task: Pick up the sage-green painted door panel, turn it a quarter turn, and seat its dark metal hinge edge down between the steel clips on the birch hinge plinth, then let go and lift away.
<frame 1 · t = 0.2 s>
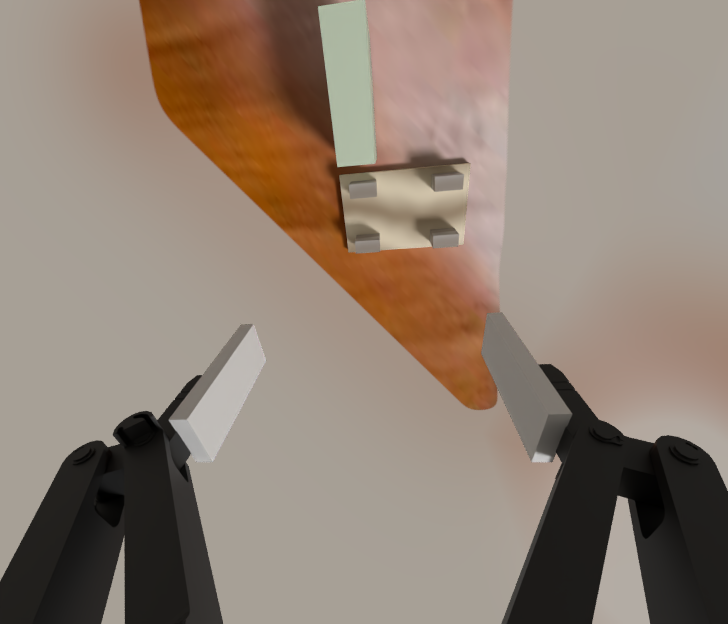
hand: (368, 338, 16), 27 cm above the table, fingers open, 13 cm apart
door panel: (358, 105, 33), on the table
hinge bracket: (403, 210, 39), on the table
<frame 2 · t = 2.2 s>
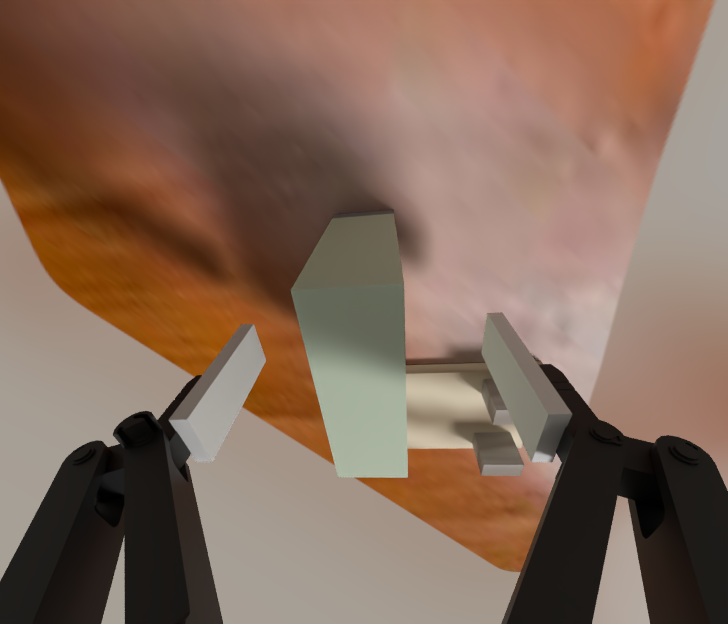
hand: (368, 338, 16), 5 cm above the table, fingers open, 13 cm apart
door panel: (370, 291, 20), on the table
hinge bracket: (435, 405, 26), on the table
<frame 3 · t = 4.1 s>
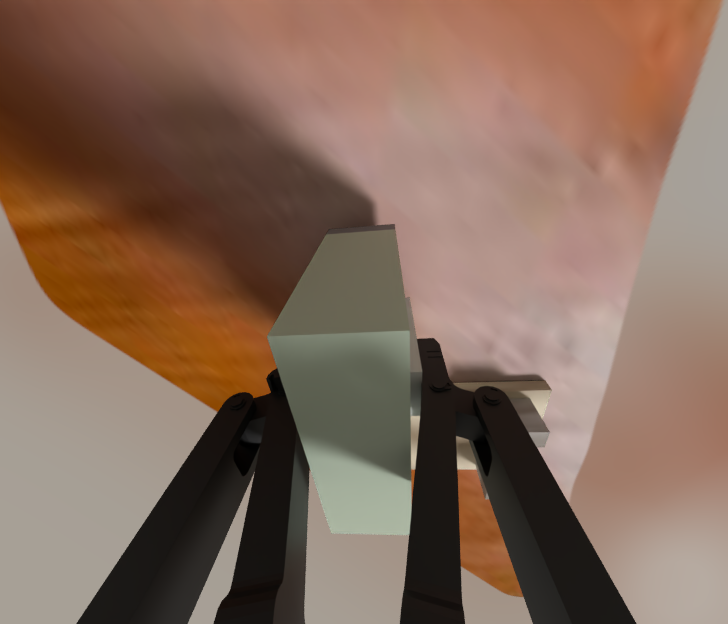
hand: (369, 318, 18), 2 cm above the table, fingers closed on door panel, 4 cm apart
door panel: (369, 312, 18), point 1 cm above the table, touching gripper
hinge bracket: (437, 424, 25), on the table
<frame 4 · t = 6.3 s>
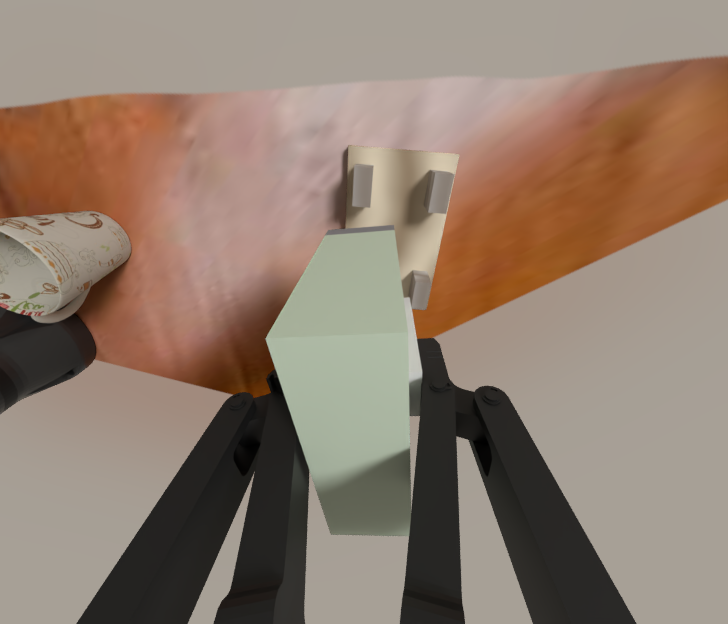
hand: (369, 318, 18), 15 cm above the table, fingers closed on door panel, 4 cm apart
door panel: (369, 313, 18), point 15 cm above the table, touching gripper
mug: (105, 254, 33), on the table
hinge bracket: (392, 235, 31), on the table
when the fingers open (2 cm above the table, at t = 8.5 s): door panel stays where it is, resting on hinge bracket.
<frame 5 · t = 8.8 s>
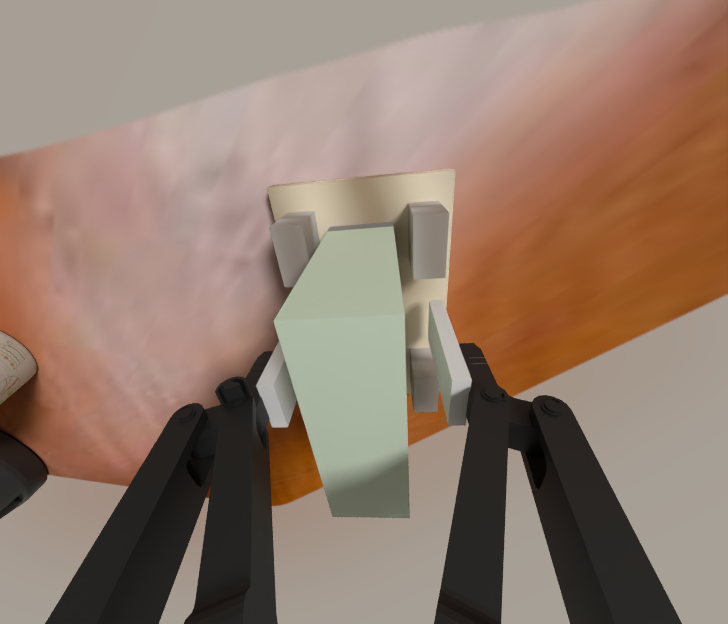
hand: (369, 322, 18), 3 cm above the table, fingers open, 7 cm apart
door panel: (369, 307, 19), point 1 cm above the table, touching hinge bracket
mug: (10, 368, 26), on the table
hinge bracket: (370, 302, 20), on the table
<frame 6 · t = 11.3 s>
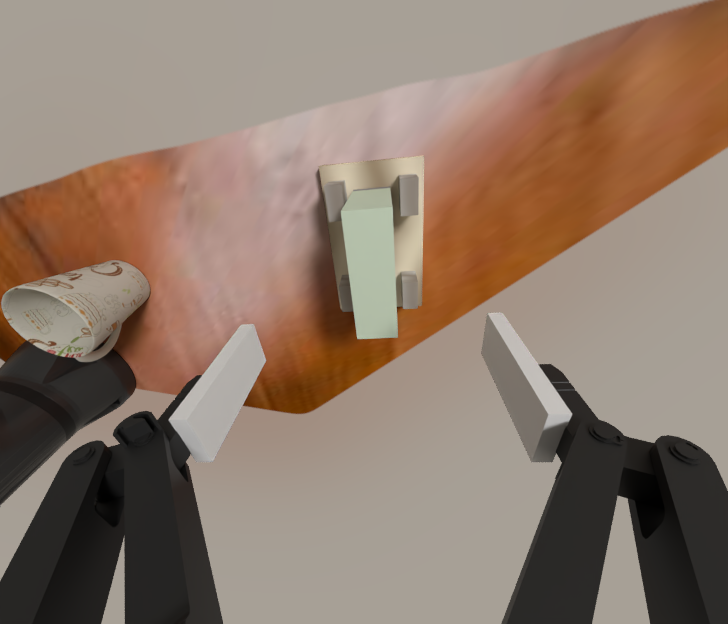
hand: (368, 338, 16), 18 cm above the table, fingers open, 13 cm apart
door panel: (375, 242, 31), point 1 cm above the table, touching hinge bracket
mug: (130, 295, 38), on the table
hinge bracket: (376, 241, 32), on the table
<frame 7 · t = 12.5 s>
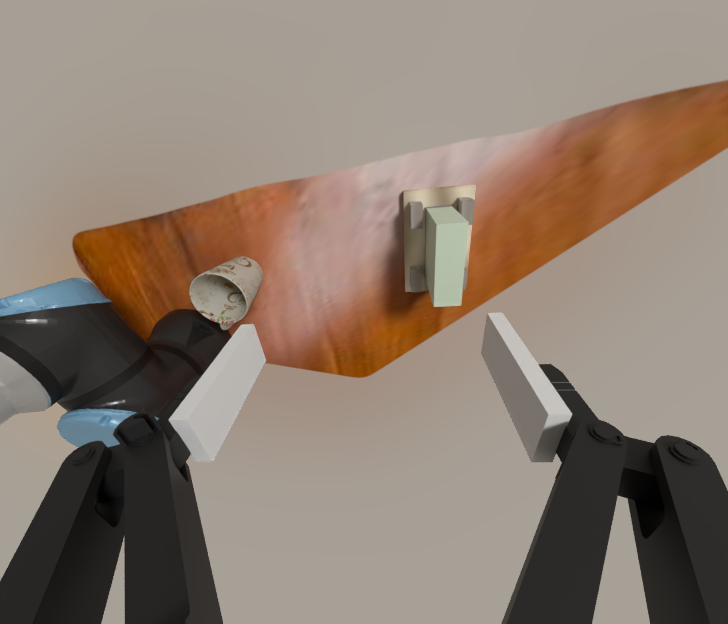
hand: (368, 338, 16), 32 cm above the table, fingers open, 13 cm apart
door panel: (436, 243, 44), point 1 cm above the table, touching hinge bracket
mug: (246, 282, 51), on the table
hinge bracket: (436, 242, 45), on the table
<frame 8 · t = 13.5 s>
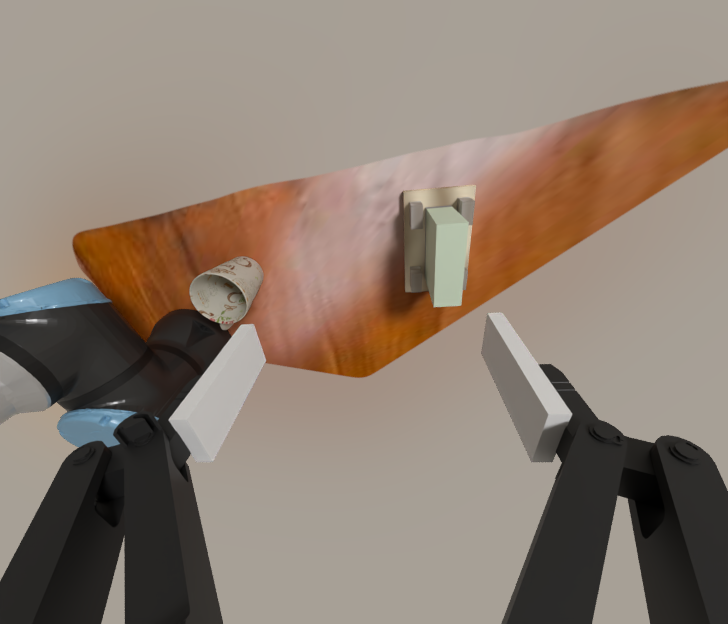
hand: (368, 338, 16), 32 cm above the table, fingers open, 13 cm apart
door panel: (436, 243, 44), point 1 cm above the table, touching hinge bracket
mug: (246, 282, 51), on the table
hinge bracket: (436, 242, 45), on the table
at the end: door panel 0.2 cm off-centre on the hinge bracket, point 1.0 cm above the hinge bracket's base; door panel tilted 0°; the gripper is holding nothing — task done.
